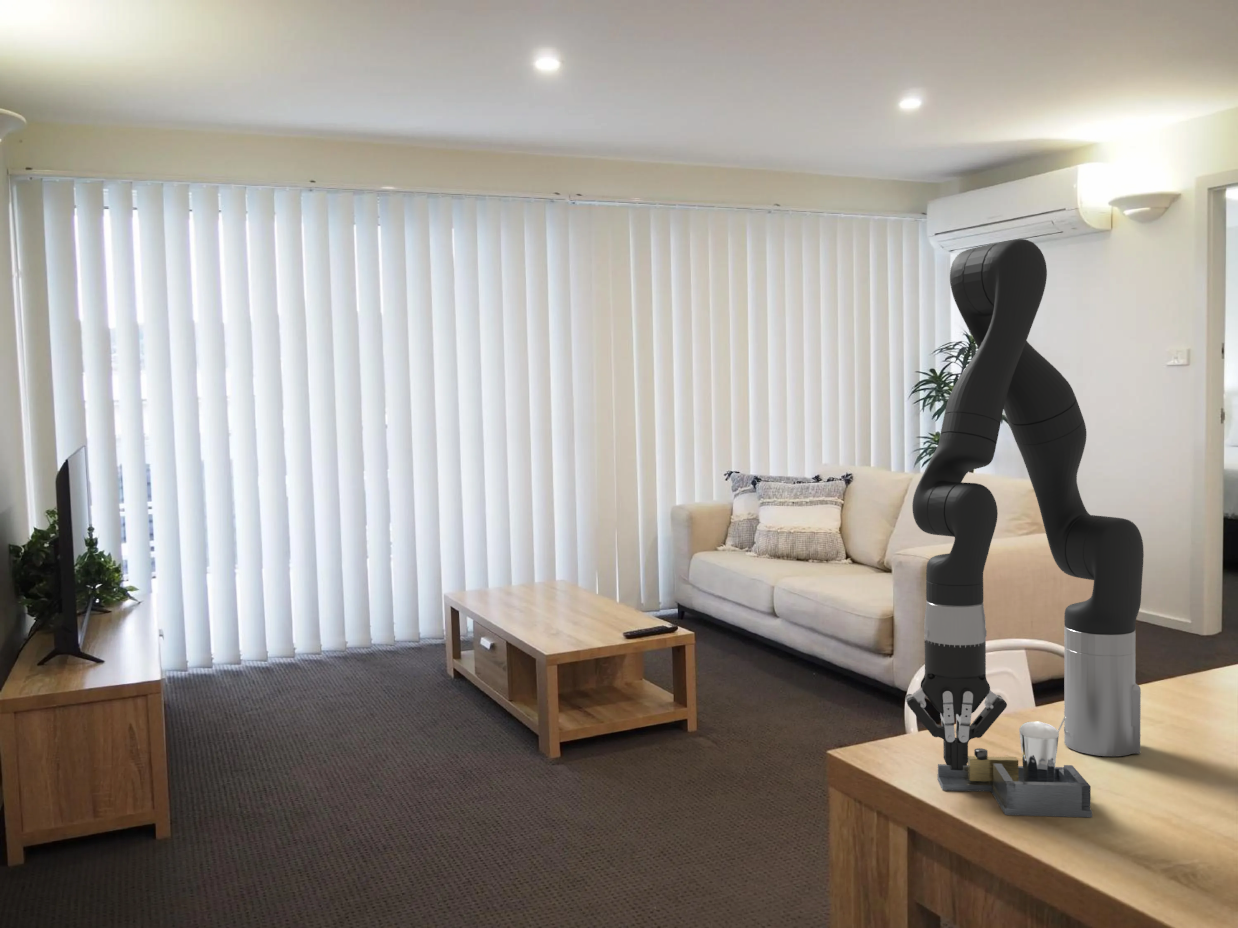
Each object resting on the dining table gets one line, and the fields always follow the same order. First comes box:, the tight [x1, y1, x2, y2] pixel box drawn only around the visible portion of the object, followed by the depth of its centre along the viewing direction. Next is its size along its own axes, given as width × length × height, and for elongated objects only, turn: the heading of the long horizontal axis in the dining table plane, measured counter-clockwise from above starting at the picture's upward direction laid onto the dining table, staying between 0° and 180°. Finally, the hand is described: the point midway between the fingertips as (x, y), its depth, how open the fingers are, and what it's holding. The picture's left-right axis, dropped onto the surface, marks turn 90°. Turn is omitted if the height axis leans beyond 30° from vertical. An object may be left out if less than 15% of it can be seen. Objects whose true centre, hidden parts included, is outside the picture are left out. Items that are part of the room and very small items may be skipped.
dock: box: [937, 763, 1093, 818], centre depth 131 cm, size 16×12×4 cm
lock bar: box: [967, 747, 1019, 781], centre depth 134 cm, size 6×2×4 cm, turn 82°
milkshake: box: [1018, 716, 1066, 782], centre depth 129 cm, size 4×5×10 cm
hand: (955, 767), depth 135 cm, fingers closed
